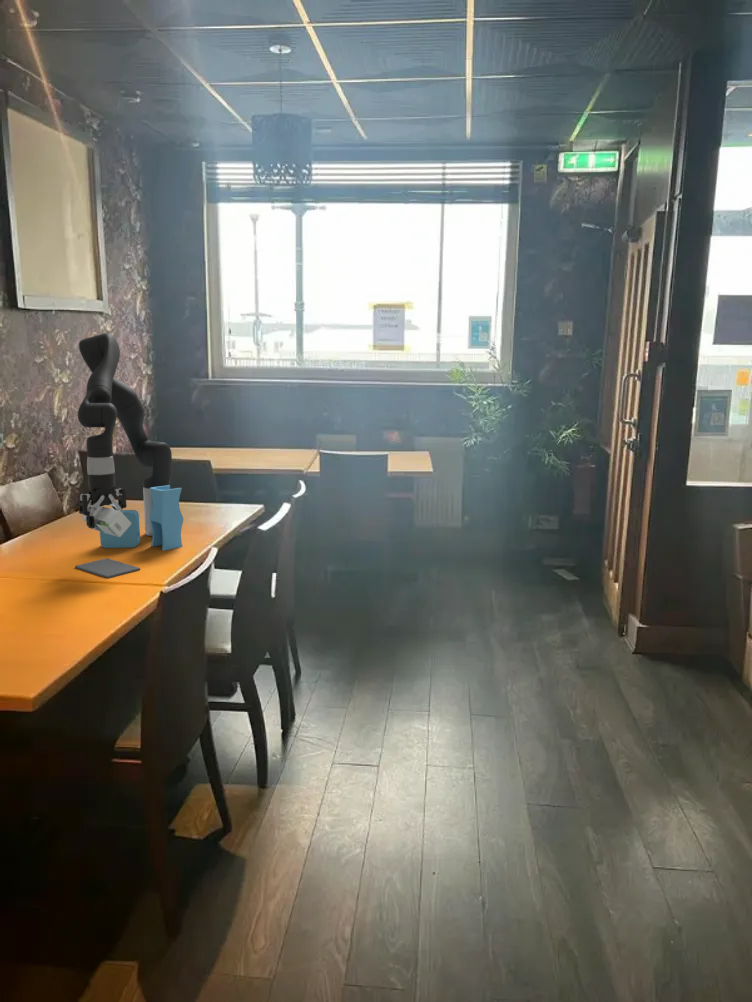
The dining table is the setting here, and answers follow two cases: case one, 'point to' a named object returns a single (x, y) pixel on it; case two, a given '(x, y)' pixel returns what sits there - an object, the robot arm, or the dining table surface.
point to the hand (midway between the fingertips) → (104, 525)
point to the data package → (128, 537)
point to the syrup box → (110, 521)
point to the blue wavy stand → (166, 517)
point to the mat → (107, 568)
